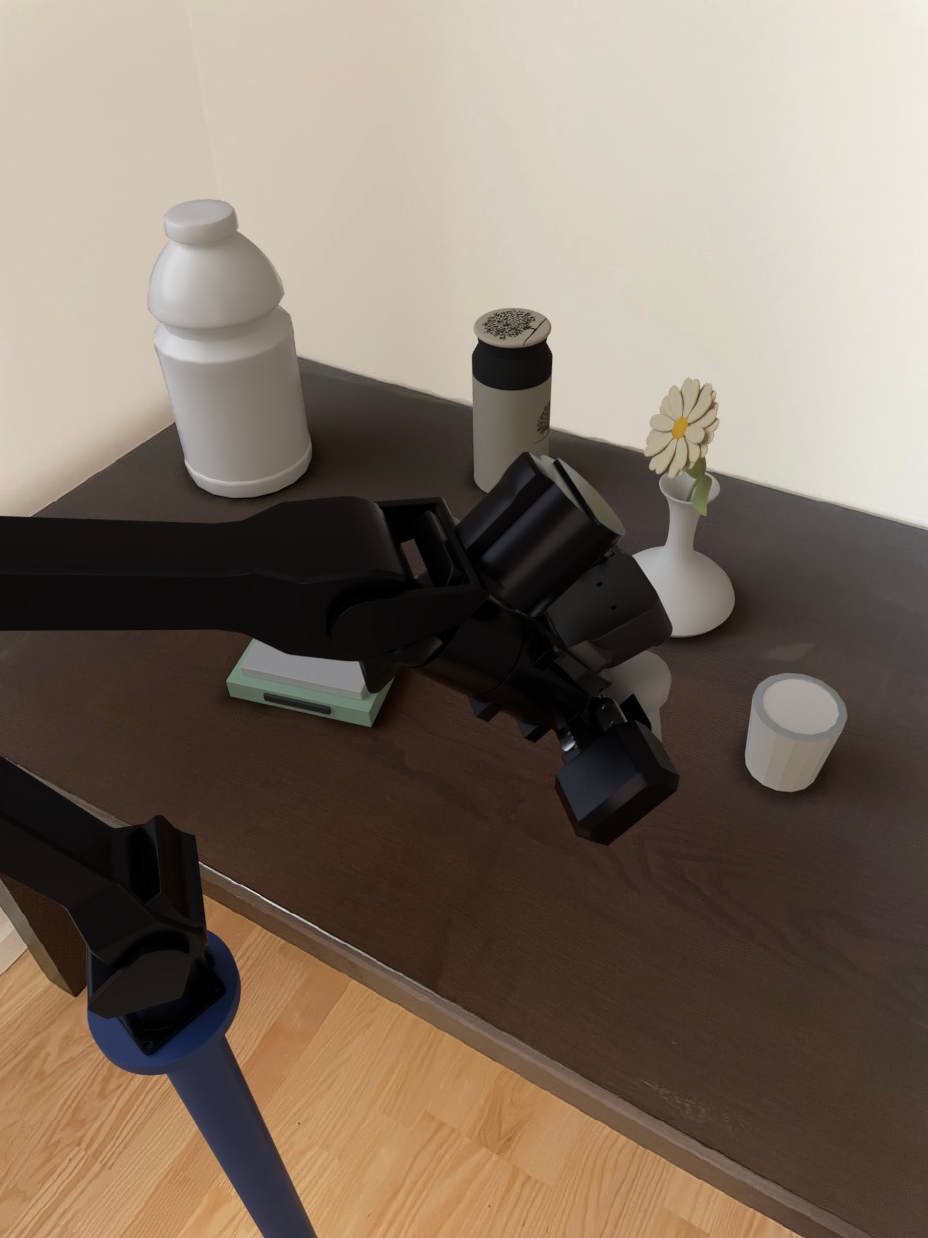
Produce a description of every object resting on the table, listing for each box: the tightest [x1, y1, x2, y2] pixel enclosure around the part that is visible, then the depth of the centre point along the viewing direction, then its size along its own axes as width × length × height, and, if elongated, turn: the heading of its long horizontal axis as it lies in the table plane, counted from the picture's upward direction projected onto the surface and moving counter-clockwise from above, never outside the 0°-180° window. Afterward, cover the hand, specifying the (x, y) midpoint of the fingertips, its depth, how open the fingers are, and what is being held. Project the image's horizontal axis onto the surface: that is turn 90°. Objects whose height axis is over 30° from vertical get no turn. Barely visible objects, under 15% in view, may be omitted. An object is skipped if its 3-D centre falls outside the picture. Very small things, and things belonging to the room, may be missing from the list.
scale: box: [225, 638, 395, 728], centre depth 86 cm, size 13×13×3 cm
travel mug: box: [471, 307, 554, 494], centre depth 100 cm, size 8×8×18 cm
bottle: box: [146, 198, 313, 499], centre depth 99 cm, size 14×14×28 cm
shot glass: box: [744, 672, 849, 793], centre depth 75 cm, size 7×7×7 cm
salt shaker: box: [602, 650, 673, 743], centre depth 63 cm, size 6×6×13 cm
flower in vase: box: [631, 377, 736, 638], centre depth 82 cm, size 13×11×25 cm
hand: (646, 730), depth 63 cm, fingers closed on salt shaker, 3 cm apart
